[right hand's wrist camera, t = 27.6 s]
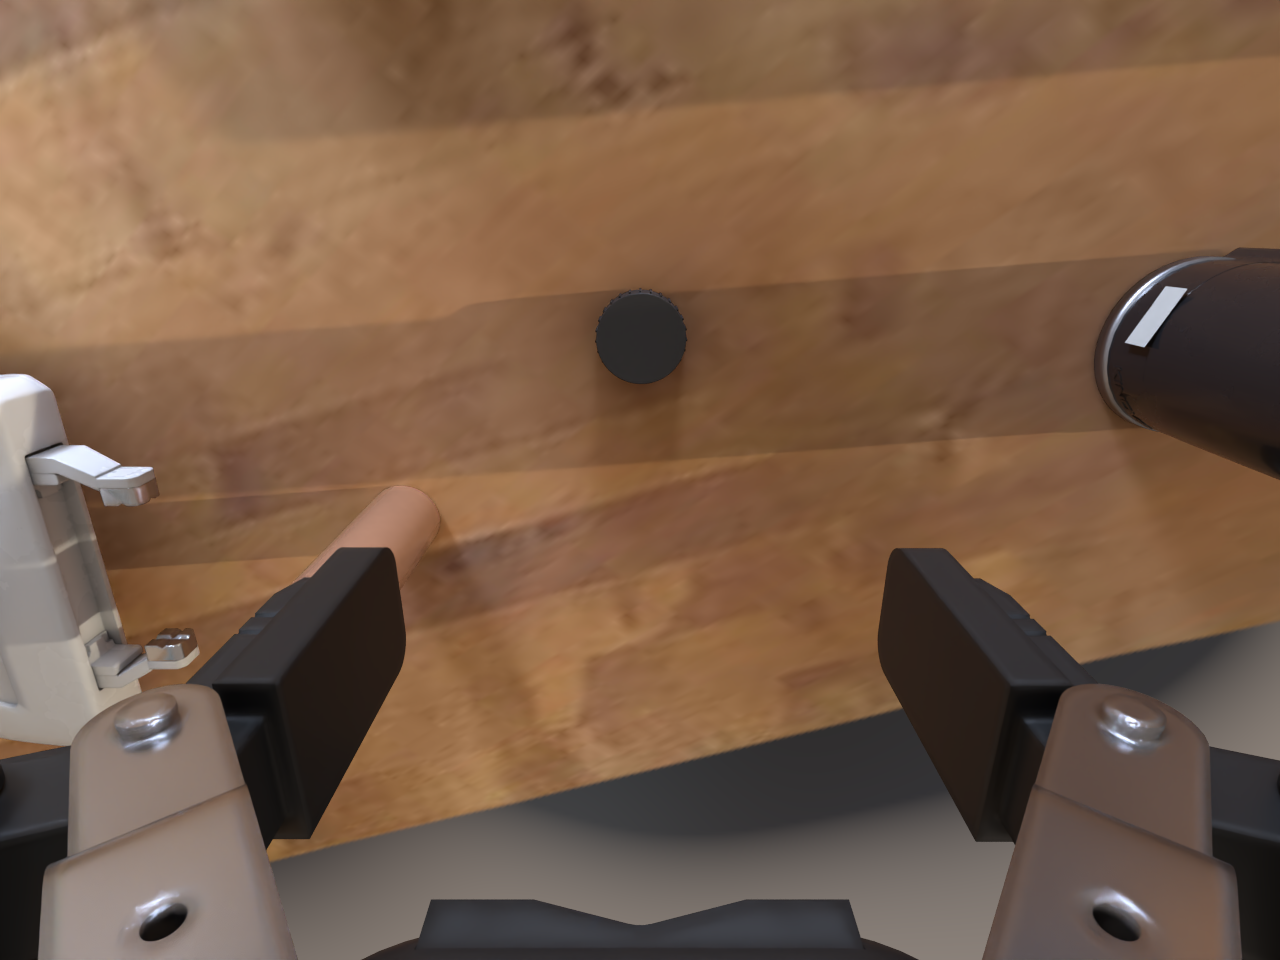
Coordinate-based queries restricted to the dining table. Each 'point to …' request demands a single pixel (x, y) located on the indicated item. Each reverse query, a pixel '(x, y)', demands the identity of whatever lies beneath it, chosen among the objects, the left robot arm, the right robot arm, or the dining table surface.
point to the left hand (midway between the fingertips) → (171, 571)
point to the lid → (641, 336)
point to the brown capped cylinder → (389, 529)
